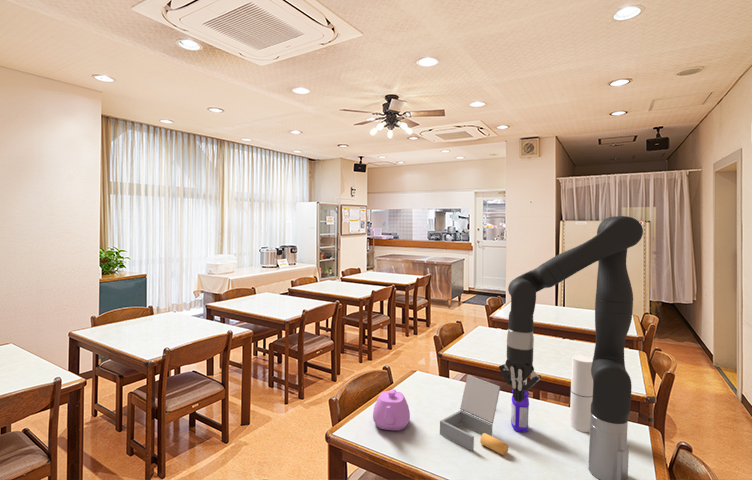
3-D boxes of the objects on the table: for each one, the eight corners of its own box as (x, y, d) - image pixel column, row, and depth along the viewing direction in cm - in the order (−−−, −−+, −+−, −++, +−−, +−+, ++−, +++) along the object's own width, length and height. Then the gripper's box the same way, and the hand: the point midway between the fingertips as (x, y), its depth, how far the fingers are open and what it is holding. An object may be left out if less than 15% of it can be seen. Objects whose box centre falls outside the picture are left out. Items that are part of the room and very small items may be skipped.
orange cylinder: (507, 455, 119) (509, 443, 120) (501, 456, 117) (503, 444, 117) (485, 444, 125) (487, 432, 126) (479, 444, 123) (481, 433, 123)
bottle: (529, 434, 130) (531, 385, 129) (512, 432, 131) (514, 383, 130) (525, 423, 137) (527, 376, 136) (509, 421, 138) (510, 375, 138)
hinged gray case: (492, 437, 128) (492, 424, 128) (471, 451, 120) (472, 437, 120) (460, 422, 137) (460, 410, 137) (439, 433, 130) (439, 421, 129)
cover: (491, 423, 127) (493, 423, 128) (499, 386, 130) (501, 386, 130) (459, 409, 137) (461, 409, 138) (467, 374, 139) (469, 375, 140)
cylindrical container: (569, 428, 134) (572, 359, 133) (569, 419, 140) (572, 353, 139) (592, 434, 131) (595, 363, 130) (591, 424, 137) (594, 357, 136)
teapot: (376, 410, 146) (376, 380, 145) (410, 413, 144) (411, 382, 143) (368, 438, 126) (368, 404, 125) (407, 442, 124) (408, 407, 124)
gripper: (547, 347, 111) (545, 405, 112) (506, 337, 121) (504, 390, 122) (535, 353, 106) (533, 413, 107) (493, 341, 116) (492, 396, 117)
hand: (518, 400), depth 114 cm, fingers closed
